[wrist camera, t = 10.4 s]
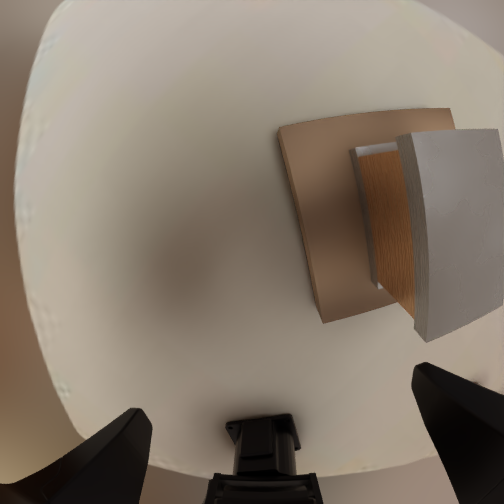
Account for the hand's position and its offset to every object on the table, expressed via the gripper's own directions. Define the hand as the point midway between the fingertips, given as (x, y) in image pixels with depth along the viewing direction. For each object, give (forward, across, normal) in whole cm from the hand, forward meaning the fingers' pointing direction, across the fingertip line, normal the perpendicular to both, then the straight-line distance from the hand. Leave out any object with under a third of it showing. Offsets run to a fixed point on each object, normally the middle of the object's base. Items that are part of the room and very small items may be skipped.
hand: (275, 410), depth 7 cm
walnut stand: (+12, -9, -4) cm, 15 cm away
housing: (+9, -9, -3) cm, 13 cm away
